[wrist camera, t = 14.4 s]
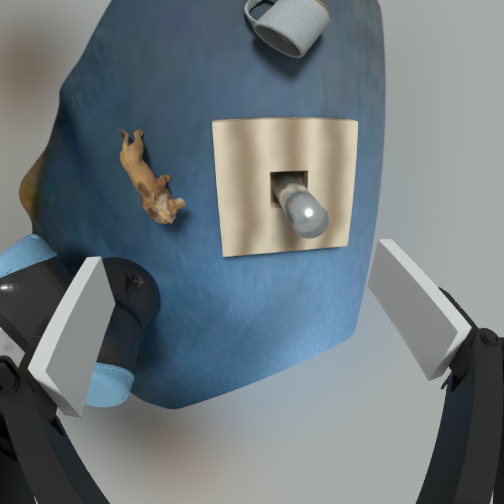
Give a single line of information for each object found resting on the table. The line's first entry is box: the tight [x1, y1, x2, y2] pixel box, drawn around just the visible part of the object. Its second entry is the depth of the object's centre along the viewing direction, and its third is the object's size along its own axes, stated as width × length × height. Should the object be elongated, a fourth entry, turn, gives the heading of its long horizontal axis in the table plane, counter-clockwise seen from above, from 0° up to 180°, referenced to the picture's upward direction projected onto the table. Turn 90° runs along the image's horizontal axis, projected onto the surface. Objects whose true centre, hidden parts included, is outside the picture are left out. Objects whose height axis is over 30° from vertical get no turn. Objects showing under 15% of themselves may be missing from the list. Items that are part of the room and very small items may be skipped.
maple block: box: [212, 117, 358, 257], centre depth 42 cm, size 20×20×4 cm
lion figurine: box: [119, 129, 185, 224], centre depth 37 cm, size 15×5×9 cm, turn 33°
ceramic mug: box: [245, 0, 330, 58], centre depth 28 cm, size 11×8×8 cm
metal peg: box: [271, 171, 329, 239], centre depth 37 cm, size 4×4×14 cm
